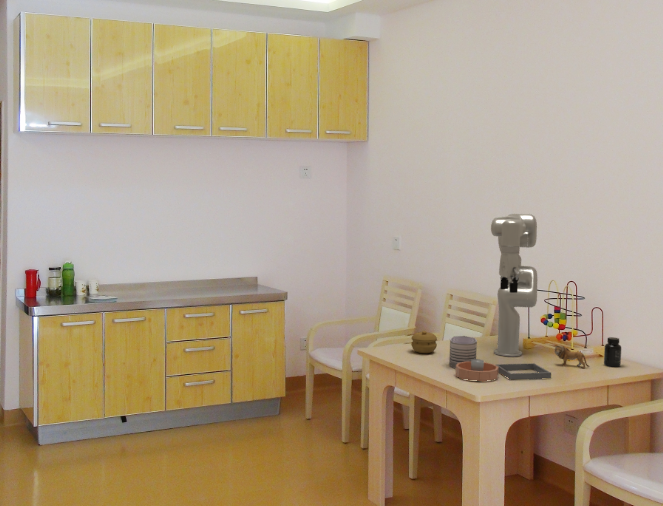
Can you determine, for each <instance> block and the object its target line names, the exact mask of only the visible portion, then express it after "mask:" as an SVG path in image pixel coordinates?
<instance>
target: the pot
mask: <svg viewBox="0 0 663 506" xmlns="http://www.w3.org/2000/svg"><path fill="white" fill-rule="evenodd" d="M437 338H438V337H437V336H436V335H435V333H432V332H428V331H426V330H423V331H420V332H415V333H414V334H412V336H411V340H412V342H411V344H410V345H411V348H412V350H414V351H415V352H416V353H420V354H430V353H433V352H434V351H435V350H436V349H437V344H438V343H437V341H438V339H437Z"/></svg>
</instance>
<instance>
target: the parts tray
mask: <svg viewBox="0 0 663 506" xmlns="http://www.w3.org/2000/svg"><path fill="white" fill-rule="evenodd" d="M494 365H496V366H498V367H499V374H500V373H501V374H503V375H504V376H506V377H508V378H509V379H529V380H543V379H542V378H551V379H552V372H551V371H549V370H547V369H545V368H544V367H542V366H540V365H538V364H537V363H535V362H534V363H532V362H531V363H528V362H527V363H501V364H500V363H498V364H494ZM519 369H523V370H522V371H526V370H525V369H533V370H532V371H535V372H520V373H519V372H517V373H515V372H514V373H512V372H510V371H520V370H519ZM536 371H537V372H536ZM538 372H539V373H538ZM501 374H500V375H501ZM503 375H502V376H503ZM504 376H503V377H504ZM506 377H505V378H506ZM509 379H508V380H509Z"/></svg>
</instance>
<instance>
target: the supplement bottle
mask: <svg viewBox="0 0 663 506" xmlns="http://www.w3.org/2000/svg"><path fill="white" fill-rule="evenodd" d="M606 341H607V343H606V344H605V345H604V349H603V350H604V351H603V352H604V353H603V365H604V366H605V367H609V368H620V367H621V362H622V346H621V345H620V338H618V337H611V336H609V337H607V340H606Z"/></svg>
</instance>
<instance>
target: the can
mask: <svg viewBox="0 0 663 506" xmlns="http://www.w3.org/2000/svg"><path fill="white" fill-rule="evenodd" d="M477 343H478V340H477V339H476V338H475V337H473V336H466V335H459V336H458V335H456V336H453V337H450V338H449V359H448V360H449V361H448V363H449V366H450V368H453V369H456V365H457V364H458V363H461V362H468V361H471V360H472V359H477V347H478V345H477Z"/></svg>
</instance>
